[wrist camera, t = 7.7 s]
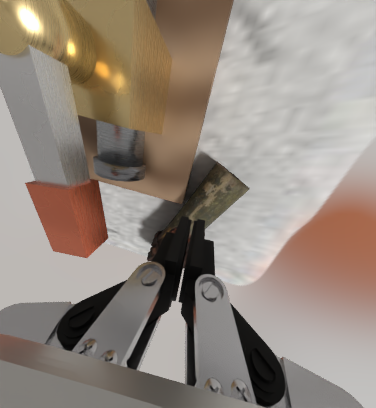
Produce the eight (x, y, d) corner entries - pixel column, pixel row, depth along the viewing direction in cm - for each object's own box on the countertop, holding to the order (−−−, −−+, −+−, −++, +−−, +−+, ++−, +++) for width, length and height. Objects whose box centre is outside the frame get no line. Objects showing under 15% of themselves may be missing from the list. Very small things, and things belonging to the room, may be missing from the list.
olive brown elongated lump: (216, 159, 17) (220, 165, 12) (254, 191, 18) (272, 209, 13) (149, 240, 24) (133, 265, 19) (179, 260, 25) (171, 289, 20)
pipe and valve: (105, -39, 11) (-54, -315, 4) (185, -21, 11) (146, -281, 4) (108, 162, 18) (49, 173, 11) (157, 176, 18) (126, 195, 11)
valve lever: (32, 2, 7) (-102, -105, 4) (90, 4, 7) (-7, -109, 4) (87, 225, 13) (49, 250, 10) (119, 231, 12) (90, 258, 9)
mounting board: (61, -139, 10) (39, -182, 9) (257, -98, 10) (265, -137, 8) (88, 173, 20) (79, 175, 19) (183, 200, 20) (182, 204, 19)
